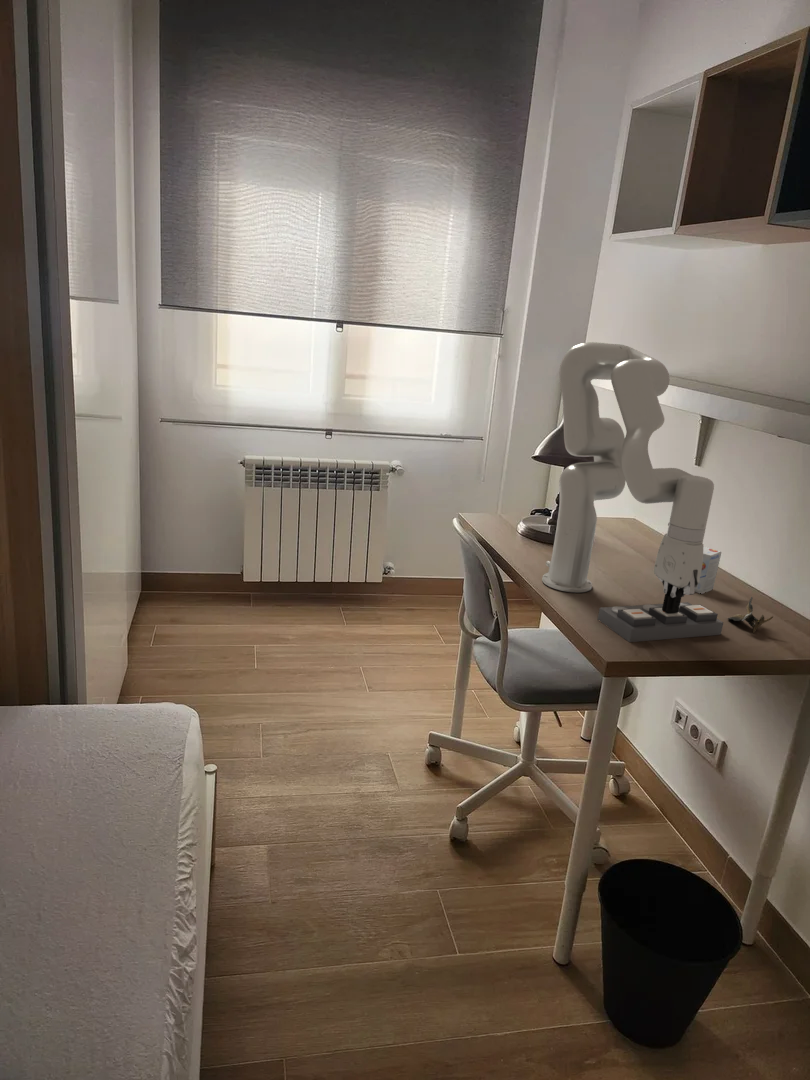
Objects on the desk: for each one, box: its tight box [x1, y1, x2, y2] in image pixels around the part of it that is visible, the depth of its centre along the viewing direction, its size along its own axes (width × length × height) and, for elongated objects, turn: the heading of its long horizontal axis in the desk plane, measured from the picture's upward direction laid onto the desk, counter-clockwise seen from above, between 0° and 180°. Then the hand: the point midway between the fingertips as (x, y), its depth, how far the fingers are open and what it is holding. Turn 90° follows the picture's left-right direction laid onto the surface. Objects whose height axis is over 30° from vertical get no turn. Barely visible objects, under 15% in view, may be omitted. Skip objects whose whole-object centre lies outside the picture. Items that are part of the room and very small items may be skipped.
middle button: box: [654, 608, 683, 617], centre depth 173 cm, size 4×4×2 cm
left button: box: [623, 609, 652, 619], centre depth 170 cm, size 4×4×2 cm
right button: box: [685, 604, 714, 615], centre depth 177 cm, size 4×4×2 cm
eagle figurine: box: [727, 596, 774, 634], centre depth 181 cm, size 8×7×9 cm
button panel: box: [597, 601, 724, 643], centre depth 176 cm, size 12×25×5 cm, turn 111°
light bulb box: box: [694, 545, 722, 595], centre depth 205 cm, size 11×7×11 cm, turn 45°
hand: (670, 611), depth 173 cm, fingers closed
